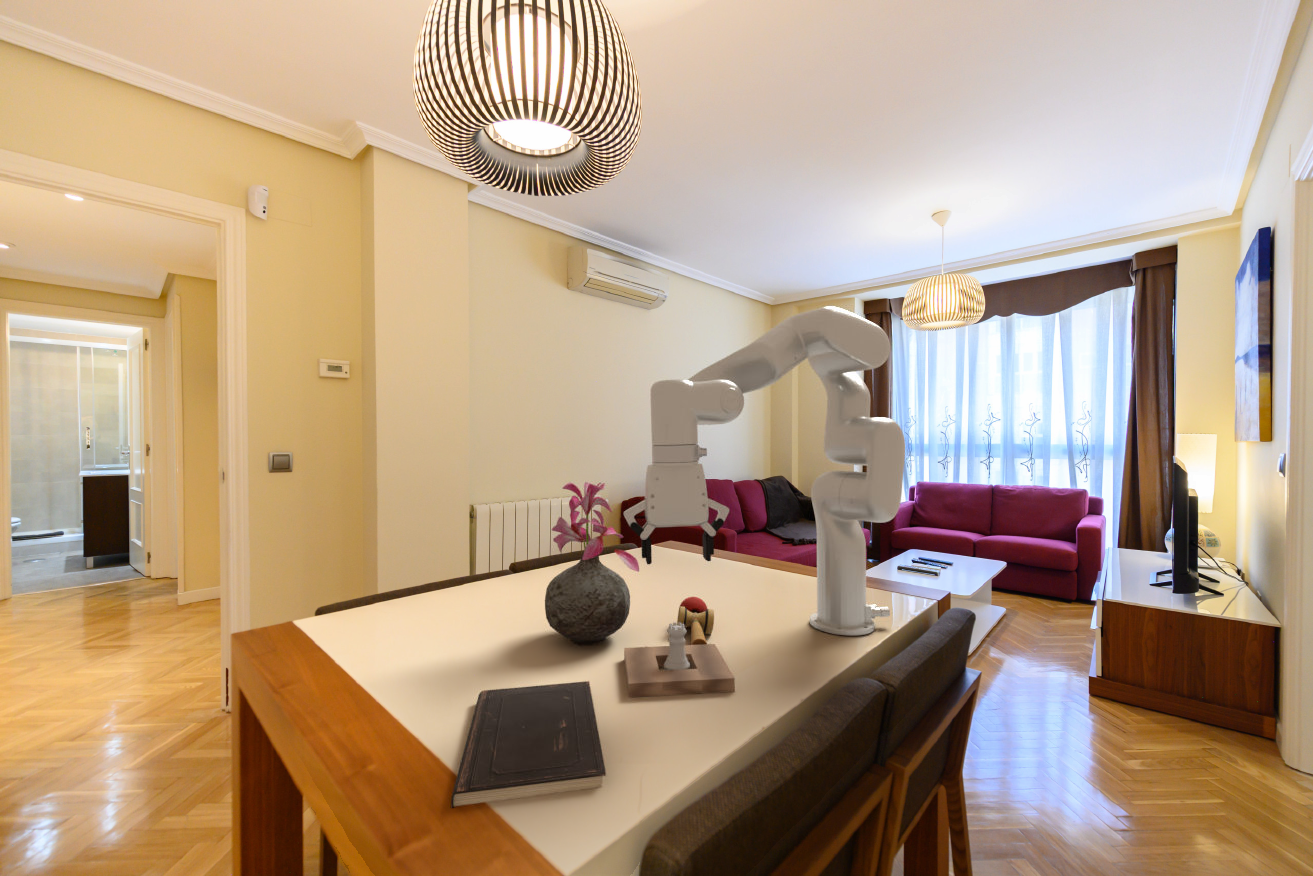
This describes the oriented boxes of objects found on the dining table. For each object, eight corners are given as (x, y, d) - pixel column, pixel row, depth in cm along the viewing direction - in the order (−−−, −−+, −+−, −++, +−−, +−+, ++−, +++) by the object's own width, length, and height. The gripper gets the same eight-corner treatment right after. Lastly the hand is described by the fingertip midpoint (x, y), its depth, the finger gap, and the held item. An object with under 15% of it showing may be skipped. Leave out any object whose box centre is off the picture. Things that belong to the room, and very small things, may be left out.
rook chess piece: (662, 669, 90) (661, 621, 90) (688, 668, 90) (688, 620, 90) (664, 681, 85) (664, 630, 85) (692, 679, 86) (692, 629, 86)
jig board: (714, 655, 95) (714, 643, 95) (734, 691, 81) (734, 678, 81) (624, 659, 94) (624, 648, 94) (628, 697, 80) (628, 683, 80)
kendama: (725, 661, 96) (713, 615, 114) (719, 628, 96) (708, 587, 113) (682, 669, 96) (677, 621, 114) (676, 636, 96) (671, 593, 113)
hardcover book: (589, 696, 81) (589, 681, 81) (605, 793, 59) (605, 772, 59) (478, 706, 78) (478, 690, 78) (451, 814, 56) (451, 791, 56)
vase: (540, 629, 109) (539, 481, 110) (623, 620, 115) (623, 478, 115) (550, 660, 93) (549, 487, 94) (646, 648, 99) (645, 484, 99)
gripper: (721, 453, 93) (724, 553, 93) (621, 457, 91) (623, 558, 91) (732, 455, 85) (735, 563, 85) (623, 458, 83) (626, 569, 83)
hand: (677, 560), depth 88 cm, fingers open, 9 cm apart
